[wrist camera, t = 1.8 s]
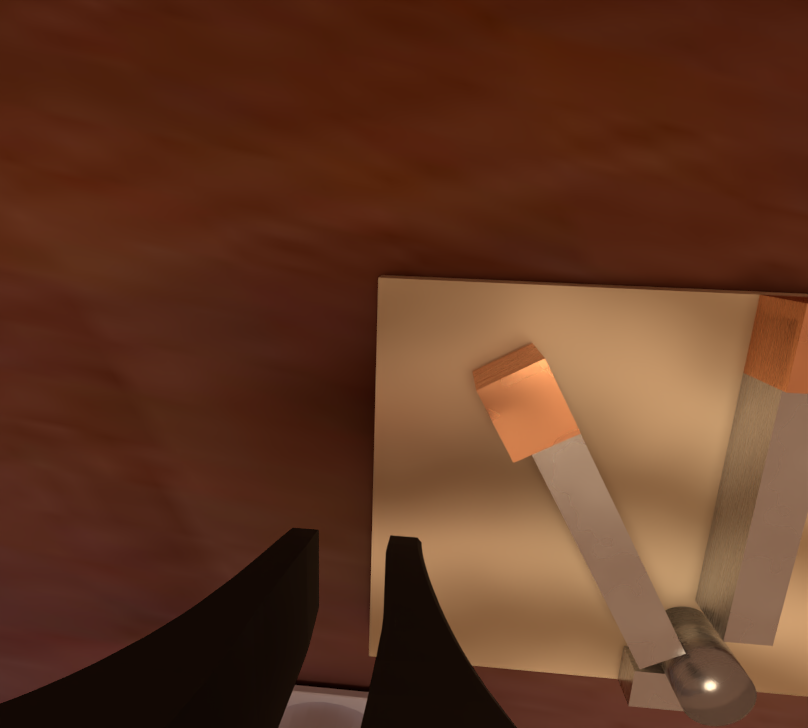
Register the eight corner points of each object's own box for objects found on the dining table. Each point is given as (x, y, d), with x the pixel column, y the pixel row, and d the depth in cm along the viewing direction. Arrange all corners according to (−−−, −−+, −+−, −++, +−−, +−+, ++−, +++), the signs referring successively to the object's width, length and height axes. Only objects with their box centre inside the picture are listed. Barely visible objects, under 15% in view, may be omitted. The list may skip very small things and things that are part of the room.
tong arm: (660, 611, 19) (688, 658, 17) (605, 631, 19) (625, 680, 17) (532, 342, 17) (545, 358, 15) (472, 371, 17) (476, 390, 15)
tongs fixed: (734, 689, 20) (780, 761, 17) (617, 678, 20) (644, 747, 18) (831, 297, 16) (910, 310, 13) (685, 291, 16) (733, 302, 14)
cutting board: (807, 672, 21) (828, 698, 20) (372, 633, 22) (368, 656, 21) (915, 298, 17) (949, 302, 16) (382, 275, 18) (378, 277, 17)
